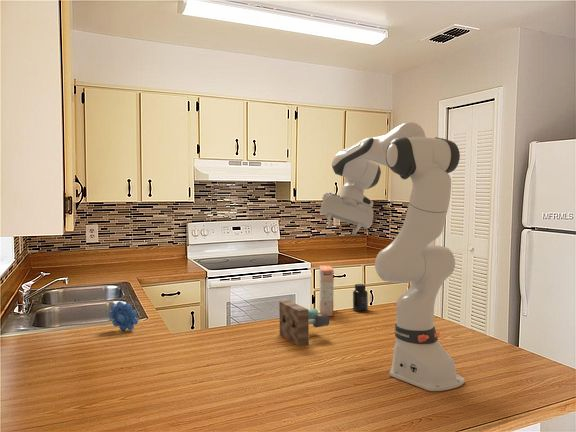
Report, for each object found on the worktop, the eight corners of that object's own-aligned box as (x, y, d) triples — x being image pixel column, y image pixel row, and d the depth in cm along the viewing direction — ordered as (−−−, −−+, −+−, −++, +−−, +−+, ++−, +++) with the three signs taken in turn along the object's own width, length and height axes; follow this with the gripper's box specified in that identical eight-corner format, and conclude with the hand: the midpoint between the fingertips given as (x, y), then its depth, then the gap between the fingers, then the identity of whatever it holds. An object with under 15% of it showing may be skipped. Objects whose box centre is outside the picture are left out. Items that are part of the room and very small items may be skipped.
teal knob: (318, 321, 184) (318, 310, 184) (289, 326, 178) (289, 314, 178) (312, 318, 188) (312, 307, 188) (283, 323, 182) (283, 311, 182)
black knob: (329, 326, 177) (329, 314, 177) (299, 331, 171) (299, 319, 171) (323, 323, 181) (323, 312, 181) (293, 328, 175) (293, 316, 175)
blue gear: (105, 334, 186) (104, 304, 186) (111, 329, 193) (110, 300, 192) (134, 333, 186) (133, 303, 186) (140, 328, 193) (139, 299, 192)
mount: (308, 344, 171) (308, 309, 170) (298, 346, 169) (298, 310, 169) (288, 332, 185) (288, 300, 185) (279, 334, 184) (279, 301, 183)
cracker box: (334, 316, 208) (334, 270, 207) (320, 316, 208) (320, 270, 207) (332, 308, 222) (331, 264, 221) (319, 308, 222) (319, 265, 221)
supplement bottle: (367, 308, 222) (367, 283, 221) (368, 312, 215) (368, 286, 215) (352, 308, 223) (352, 283, 222) (353, 312, 216) (353, 286, 215)
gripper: (326, 187, 179) (316, 218, 172) (377, 203, 178) (369, 235, 172) (323, 195, 184) (313, 225, 178) (373, 210, 183) (365, 241, 177)
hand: (341, 230), depth 175 cm, fingers open, 8 cm apart
